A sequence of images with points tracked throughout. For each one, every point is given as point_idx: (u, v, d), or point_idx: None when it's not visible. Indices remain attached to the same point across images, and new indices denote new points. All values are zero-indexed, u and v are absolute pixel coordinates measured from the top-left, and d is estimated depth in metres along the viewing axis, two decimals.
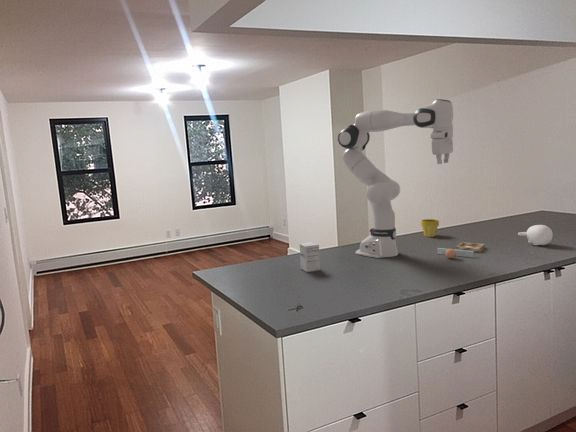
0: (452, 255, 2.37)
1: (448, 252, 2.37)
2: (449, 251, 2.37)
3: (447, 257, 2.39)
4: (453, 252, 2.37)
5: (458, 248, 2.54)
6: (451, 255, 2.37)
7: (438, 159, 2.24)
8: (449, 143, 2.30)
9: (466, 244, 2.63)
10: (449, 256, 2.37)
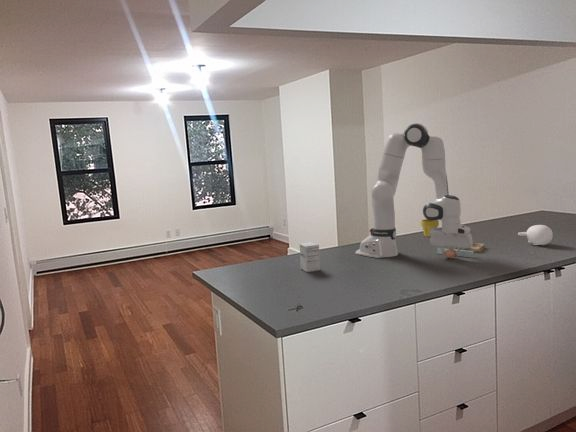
0: (452, 255, 2.37)
1: (448, 252, 2.37)
2: (449, 251, 2.37)
3: (447, 257, 2.39)
4: (453, 252, 2.37)
5: None
6: (451, 255, 2.37)
7: None
8: None
9: None
10: (449, 256, 2.37)
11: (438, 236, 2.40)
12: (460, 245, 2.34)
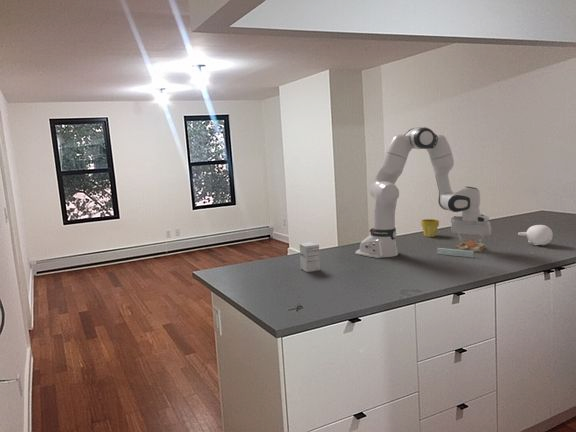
0: (472, 245, 2.54)
1: (469, 242, 2.54)
2: (470, 241, 2.54)
3: (467, 246, 2.56)
4: (473, 242, 2.54)
5: (458, 248, 2.54)
6: (471, 245, 2.54)
7: (481, 239, 2.52)
8: None
9: None
10: (469, 246, 2.54)
11: (458, 224, 2.57)
12: (479, 232, 2.51)
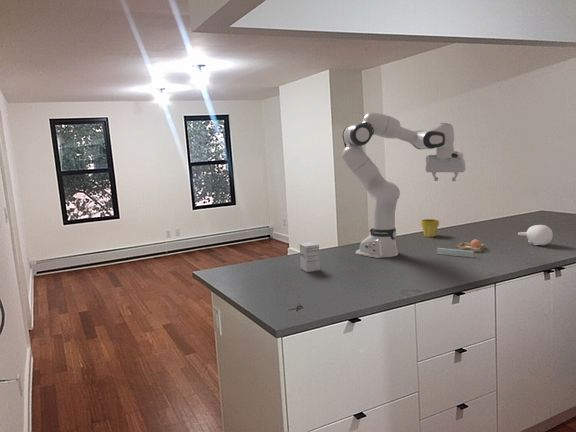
0: (475, 247, 2.53)
1: (476, 243, 2.52)
2: (477, 243, 2.52)
3: None
4: (478, 246, 2.53)
5: (458, 248, 2.54)
6: (474, 247, 2.53)
7: (456, 176, 2.49)
8: None
9: (466, 244, 2.63)
10: (473, 245, 2.53)
11: (433, 163, 2.54)
12: (454, 169, 2.48)
